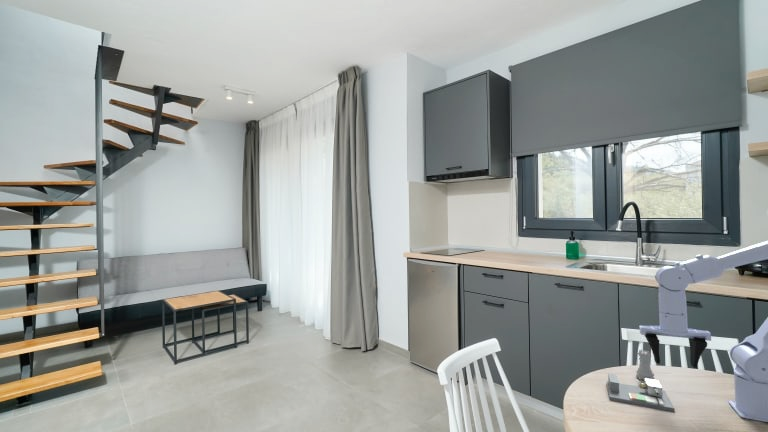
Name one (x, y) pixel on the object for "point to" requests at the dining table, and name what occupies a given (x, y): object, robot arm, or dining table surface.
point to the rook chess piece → (644, 366)
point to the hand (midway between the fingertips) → (675, 364)
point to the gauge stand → (636, 395)
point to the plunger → (652, 387)
